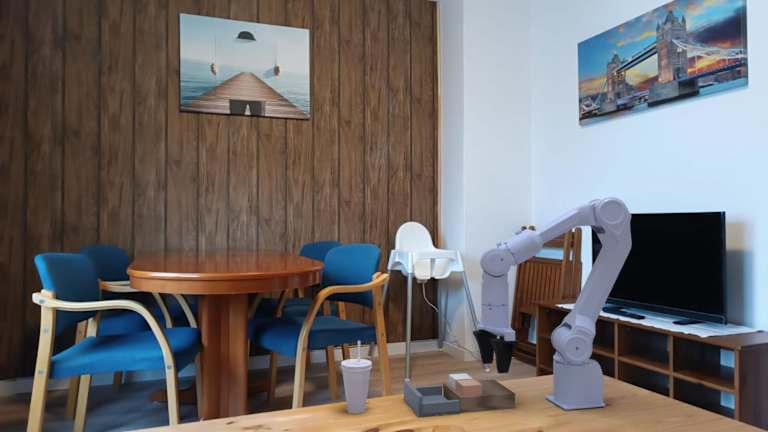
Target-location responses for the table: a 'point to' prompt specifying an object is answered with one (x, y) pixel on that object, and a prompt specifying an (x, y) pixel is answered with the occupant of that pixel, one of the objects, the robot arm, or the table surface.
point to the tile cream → (457, 378)
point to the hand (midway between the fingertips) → (494, 368)
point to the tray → (429, 400)
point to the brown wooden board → (482, 397)
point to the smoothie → (356, 382)
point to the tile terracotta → (468, 387)
